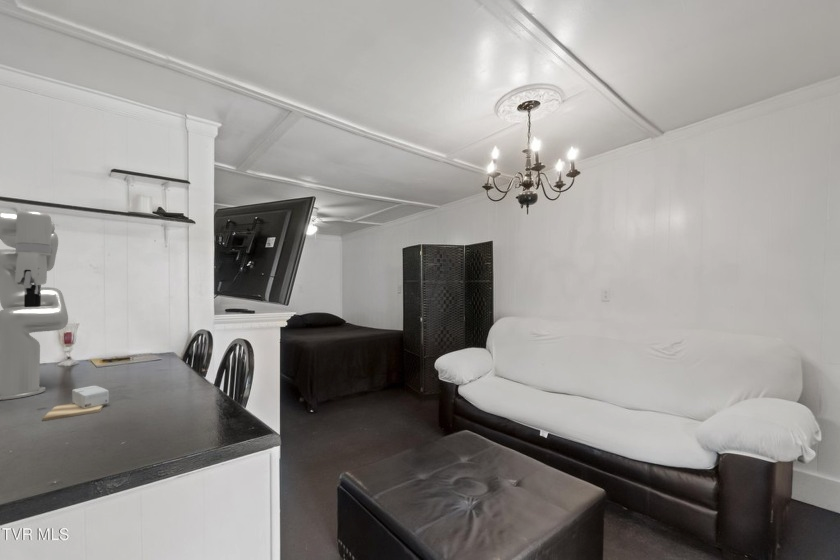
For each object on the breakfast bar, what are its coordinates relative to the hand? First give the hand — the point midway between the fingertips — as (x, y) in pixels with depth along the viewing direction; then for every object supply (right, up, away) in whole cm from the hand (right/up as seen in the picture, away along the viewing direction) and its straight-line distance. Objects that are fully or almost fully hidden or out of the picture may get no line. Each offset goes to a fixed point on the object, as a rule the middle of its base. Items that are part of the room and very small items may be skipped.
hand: (32, 306), depth 110 cm
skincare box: (+14, -29, +3) cm, 32 cm away
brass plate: (+19, -32, -4) cm, 37 cm away
